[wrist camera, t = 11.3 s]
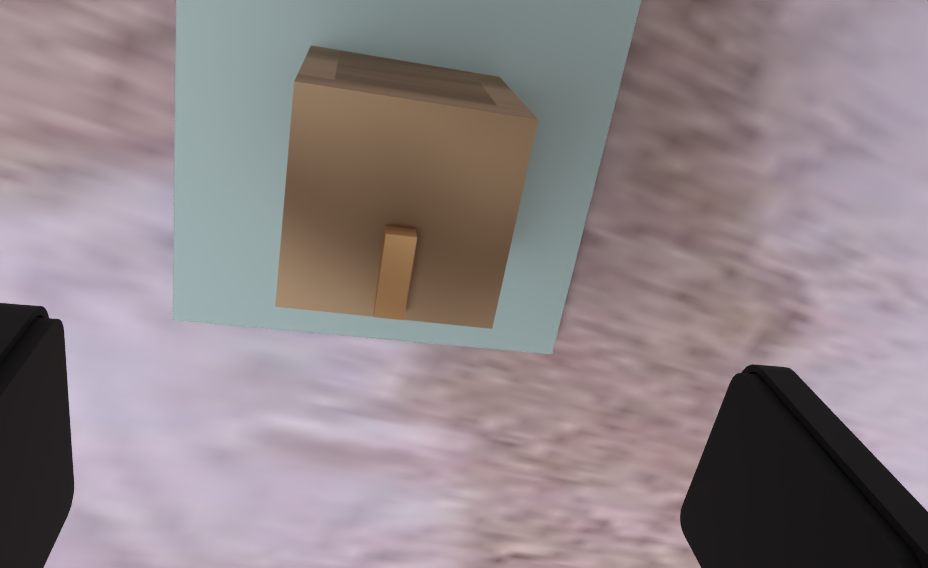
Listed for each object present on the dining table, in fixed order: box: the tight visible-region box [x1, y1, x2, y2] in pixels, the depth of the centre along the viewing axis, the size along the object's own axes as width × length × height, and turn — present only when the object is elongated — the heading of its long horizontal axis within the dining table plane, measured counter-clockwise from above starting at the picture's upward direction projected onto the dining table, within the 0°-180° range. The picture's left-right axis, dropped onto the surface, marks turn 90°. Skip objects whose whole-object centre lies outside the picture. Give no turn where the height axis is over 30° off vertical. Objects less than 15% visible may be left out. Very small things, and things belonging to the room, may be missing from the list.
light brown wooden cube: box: [275, 46, 538, 329], centre depth 22 cm, size 6×6×7 cm
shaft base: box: [173, 0, 642, 354], centre depth 23 cm, size 14×14×6 cm
